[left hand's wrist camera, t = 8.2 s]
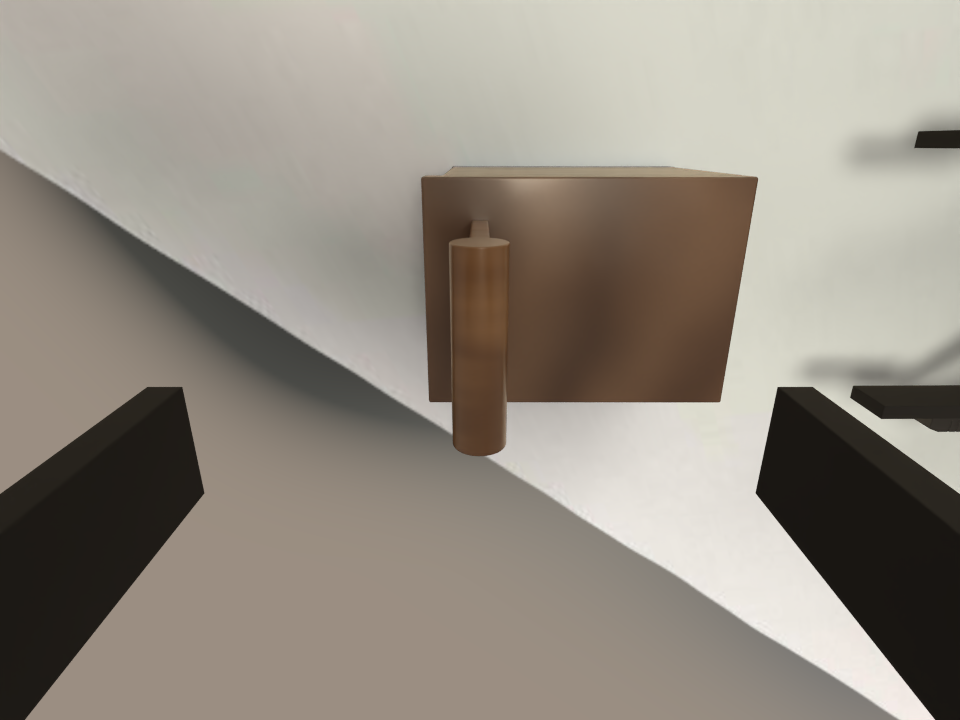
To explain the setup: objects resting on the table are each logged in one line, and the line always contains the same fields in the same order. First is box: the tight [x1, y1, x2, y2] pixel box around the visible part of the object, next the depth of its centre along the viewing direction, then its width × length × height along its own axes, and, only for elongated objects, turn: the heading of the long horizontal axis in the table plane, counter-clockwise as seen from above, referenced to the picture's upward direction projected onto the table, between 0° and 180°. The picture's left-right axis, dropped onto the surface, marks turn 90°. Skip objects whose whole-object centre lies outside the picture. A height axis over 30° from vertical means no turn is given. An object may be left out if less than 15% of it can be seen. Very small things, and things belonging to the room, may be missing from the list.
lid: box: [421, 176, 758, 456], centre depth 21 cm, size 14×10×9 cm
